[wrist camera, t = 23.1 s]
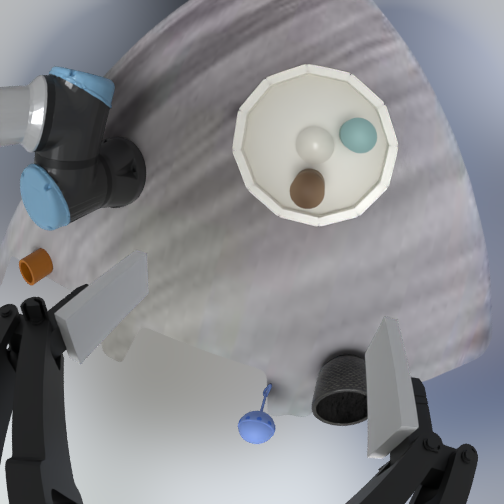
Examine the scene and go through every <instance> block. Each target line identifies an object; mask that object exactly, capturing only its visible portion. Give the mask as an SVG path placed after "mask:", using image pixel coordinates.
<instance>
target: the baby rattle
mask: <svg viewBox="0 0 504 504" xmlns="http://www.w3.org/2000/svg"><path fill="white" fill-rule="evenodd" d="M271 387H272V385H271V384H269V385H268V386H267V387H266V388H265V389H264V391H263V396H264V399H263V403H262V406H261V410H260V411H252V412H249V413H247V414H245V415H244V416H243V417H242V418H241V419H240V421H239V423H238V429H239V433H240V435H241V437H242V438H243V439H244V440H245V441H247V442H249V443H253V444H260V443H264V442H266V441H268V440H269V439H270V438H271V437H272V436H273V435H274V432H275V424H274V421H273V419H272V418H271V417H270V416H269V415H268V414H266V413H265V412H262V411H263V408H264V404H265V400H266V397H267V396H268V393H269V392H270V390H271ZM266 391H267V392H266Z"/></svg>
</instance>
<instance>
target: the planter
mask: <svg viewBox="0 0 504 504" xmlns="http://www.w3.org/2000/svg"><path fill="white" fill-rule="evenodd" d="M312 412H313V414H314V416H315V417H316V418H317V419H319V420H320V421H322V422H324V423H327V424H331V425H337V426H347V425H354V424H357V423H360V422H363V421H365V420H367V419H368V406H367V379H366V362H365V360H363V359H362V358H359V357H356V356H353V355H342V356H339V357H337V358H334V359H332V360H330V361H329V362H328V363H326V364H325V365H324V367H323V368H322V369H321V371H320V373H319V375H318V378H317V382H316V386H315V391H314V395H313V401H312Z"/></svg>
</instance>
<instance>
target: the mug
mask: <svg viewBox="0 0 504 504" xmlns="http://www.w3.org/2000/svg"><path fill="white" fill-rule="evenodd" d="M19 267H20V272H21V274H22V276H23V278H24V279H25V281H26V282H27V283H28V284H29V285H34V284H35V283H36V282H38V281H39V280H41V279H42V278H44V277H45V276H47V275H48V274H50V273H51V272H52V270H53V265H52V261H51V258H50V256H49V254H48V253H47V252H46V251H45V250H44V249H42V248H40V249H38V250H36V251H35V252H33V253H31V254H30V255H28V256H26V257H25V258H23V259H21V260H20V261H19Z"/></svg>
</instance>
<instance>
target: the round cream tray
mask: <svg viewBox="0 0 504 504" xmlns="http://www.w3.org/2000/svg"><path fill="white" fill-rule="evenodd" d="M349 76H350V73H348V72H344V71H340V70H335V69H331V68H326V67H321V66H316V65H311V64H308V66H306V64H304V65H301V66H298V67H295V68H292V69H289V70H286V71H283V72H280V73H277V74H274V75H271V76H269V77H266V78H267V80H268V81H267V80H266V79H264V80H263V81H262V82H261V83H260V84H259V86H258V87H257V88H256V89H255V90H254V91H253V93H252V94H251V95H250V96H249V97H248V99H247V100H246V101H245V102H244V104H243V105H242V106H241V107H240V108H239V110H241V111H238V115H237V121H236V128H235V134H234V141H233V148H232V150H236V151H233V154H234V157H235V160H236V162H237V165H238V167H239V170H240V173H241V175H242V178H243V181H244V183H245V186H246V188H249V187H250V188H249V189H248V191H249V192H250V193H252V194H253V195H254V196H255V197H256V198H257V199H259V200H260V201H261V202H262V203H263V204H264V205H265V206H267V207H268V208H269V209H270V210H271V211H272V212H273V213H274V214H276V215H277V216H278V215H279V214H280V216H279V217H281V218H285V219H289V220H293V221H297V222H301V223H305V224H309V225H313V226H317V227H318V224H319V225H320V226H324V225H328V224H332V223H336V222H340V221H344V220H348V219H352V218H355V217H358V215H359V216H360V215H361V214H362V213H363V212H364V211H365V210H366V209H367V208H368V207H369V206H370V205H371V204H372V203H373V202H374V201H375V200H376V199H377V198H378V197H379V196H380V195H381V194H382V193H383V192H384V191H385V190H386V189H387V187H386V186H389V184H390V180H391V176H392V172H393V168H394V164H395V160H396V156H397V151H398V147H396V146H397V145H398V142H397V139H396V135H395V132H394V129H393V126H392V122H391V119H390V116H389V113H388V110H387V107H386V105H383V104H384V102H383V101H382V100H381V99H380V98H379V97H378V96H376V95H375V94H374V93H373V92H372V91H371V90H370V89H369V88H368V87H367V86H365V85H364V84H363V83H362V82H361V81H360V80H359V79H357V78H356V77H355V76H354V75H353V74H352V75H351V76H350V77H349ZM382 105H383V106H382ZM353 118H363V119H366V120H368V121H369V122H370V123H372V125H373V126H374V127H375V129H376V132H377V141H376V144H375V146H374V147H373V148H372V149H371V150H370V151H368V152H366V153H355V152H353V151H351V150H349V149H348V148H347V147H345V146H344V145H343V144H342V142H341V140H340V137H339V130H340V128H341V126H342V125H343V123H345V122H346V121H348V120H350V119H353ZM308 168H310V169H315V170H317V171H319V172H320V173H321V174H322V176H323V178H324V181H325V195H324V199H323V201H322V202H321V203H320V204H319V205H318V206H317V207H315V208H312V209H303V208H301V207H299V206H297V205H296V204H295V203H294V202H293V201H292V199H291V197H290V186H291V184H292V182H293V180H294V179H295V177H296V176H297V174H298V173H299V172H300V171H302V170H304V169H308ZM385 185H386V186H385ZM357 214H358V215H357Z"/></svg>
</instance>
